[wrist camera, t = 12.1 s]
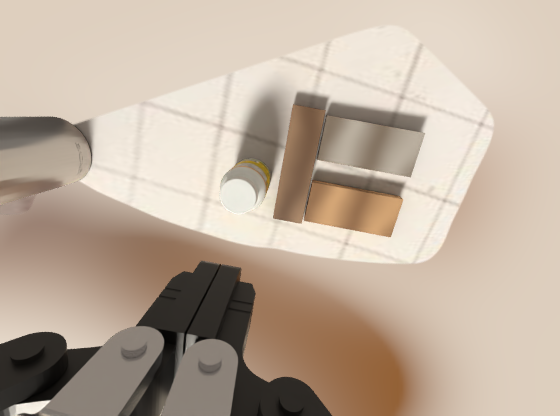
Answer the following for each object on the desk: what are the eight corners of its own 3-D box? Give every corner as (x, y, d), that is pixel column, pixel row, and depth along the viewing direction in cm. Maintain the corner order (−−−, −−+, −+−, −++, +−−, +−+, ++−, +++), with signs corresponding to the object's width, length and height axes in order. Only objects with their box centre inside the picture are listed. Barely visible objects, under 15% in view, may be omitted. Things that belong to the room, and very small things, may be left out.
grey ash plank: (316, 158, 38) (317, 159, 36) (326, 115, 36) (327, 115, 34) (406, 174, 37) (410, 177, 36) (420, 132, 35) (425, 133, 34)
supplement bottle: (252, 149, 38) (238, 160, 29) (279, 179, 39) (273, 199, 30) (224, 175, 39) (202, 194, 30) (251, 203, 40) (237, 229, 31)
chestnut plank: (304, 217, 40) (304, 220, 39) (312, 179, 38) (312, 182, 37) (387, 233, 40) (390, 237, 39) (399, 196, 38) (403, 199, 37)
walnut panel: (273, 214, 40) (272, 218, 39) (293, 104, 36) (293, 104, 34) (301, 219, 40) (301, 223, 39) (324, 110, 36) (325, 110, 34)
